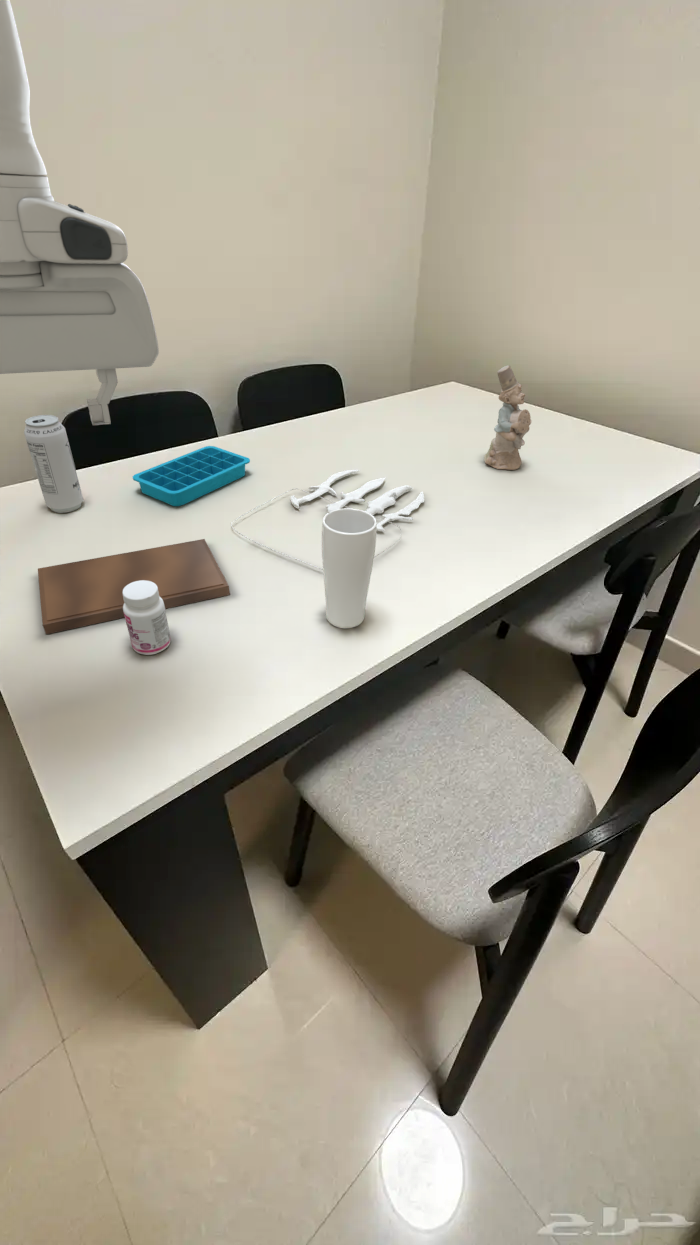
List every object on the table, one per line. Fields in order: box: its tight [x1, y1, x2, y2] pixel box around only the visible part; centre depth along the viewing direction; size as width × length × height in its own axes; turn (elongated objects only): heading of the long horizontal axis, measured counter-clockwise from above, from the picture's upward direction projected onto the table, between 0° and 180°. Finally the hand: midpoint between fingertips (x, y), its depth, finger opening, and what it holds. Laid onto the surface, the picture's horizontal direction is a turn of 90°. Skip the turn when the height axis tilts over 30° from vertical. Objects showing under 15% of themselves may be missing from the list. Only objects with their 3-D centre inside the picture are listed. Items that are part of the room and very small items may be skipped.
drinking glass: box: [321, 507, 378, 629], centre depth 75 cm, size 7×7×15 cm
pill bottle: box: [123, 580, 171, 656], centre depth 71 cm, size 5×5×8 cm
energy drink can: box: [23, 414, 84, 514], centre depth 96 cm, size 6×6×15 cm
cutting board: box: [37, 538, 231, 635], centre depth 83 cm, size 24×14×2 cm, turn 115°
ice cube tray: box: [132, 445, 251, 507], centre depth 110 cm, size 12×20×3 cm, turn 146°
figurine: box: [483, 364, 533, 471], centre depth 119 cm, size 9×8×20 cm
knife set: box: [230, 469, 425, 571], centre depth 102 cm, size 26×35×1 cm
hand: (40, 427), depth 48 cm, fingers open, 8 cm apart
